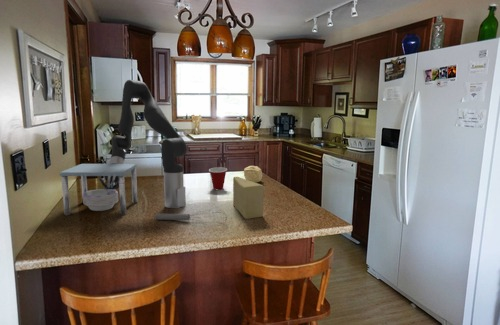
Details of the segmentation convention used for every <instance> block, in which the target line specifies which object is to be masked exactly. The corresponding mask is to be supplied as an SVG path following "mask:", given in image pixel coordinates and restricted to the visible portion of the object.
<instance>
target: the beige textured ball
mask: <svg viewBox="0 0 500 325" xmlns="http://www.w3.org/2000/svg"><path fill="white" fill-rule="evenodd" d="M243 176H244V179H245V180H248V181H252V182H255V183H257V184H258V183H259V182H261V180H262V179H263V172H262V169H261V168H260V167H259V166H257V165H256V166H255V165H249V166H247V167H245V168H243Z"/></svg>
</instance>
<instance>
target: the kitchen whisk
mask: <svg viewBox="0 0 500 325" xmlns="http://www.w3.org/2000/svg"><path fill="white" fill-rule="evenodd" d="M207 212H211V209H209V210H207ZM207 212H206V211H205V210H204V211H202V214H203V215H206V214H207ZM216 213H217V214H218V213H219V214H223V215H224V216H222V219H225V220H223V221H222V223H221V222H220V221H218V222H217V224H220V226H222V225H224V224H225V223H226V222H227V221H228V216H227V214H226V212H225V211H223V212H222V210H221V209H219V211H213V214H216ZM200 214H201V211H199V212H195V213H192V214H190V213H154V214H153V215H152V219H153V220H158V221H190V220H191V221H193V222H196V223H199V224H200V223H201V224H203V225H205V222H204V220H203V221H202V220H200V221H199V220H196V219H193V218H198V219H200V216H198V215H200ZM154 215H155V218H154ZM195 215H196V216H195ZM208 223H210V224H211V222H209V221H206V224H208Z"/></svg>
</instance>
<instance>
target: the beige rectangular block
mask: <svg viewBox="0 0 500 325" xmlns="http://www.w3.org/2000/svg"><path fill="white" fill-rule="evenodd" d="M232 181H233V184H232V186H233V187H232V191H233V192H232V193H233V194H232V196H233V199H232V200H233V204H232V205H233V207H234V206H235V207H234V208H235V209H236V210H237V211H238V212H239V213H240V214H241V216H242V217H243V218H244V219H245V220H248V219H249V220H250V219H255V218H256V219H257V218H261V217H263V215H264V196H265V194H264V192H265V190H264V188H265V186H264V185H263V184H260V183H258V182H257V183H255V182H252V181H248V180H246V179H245V178H242V177H240V176H234V177H233V179H232Z"/></svg>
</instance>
